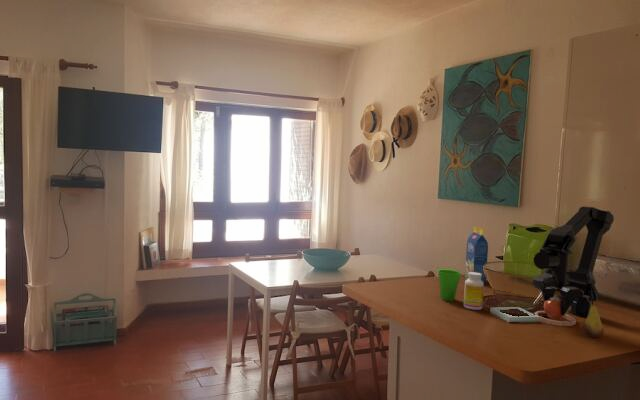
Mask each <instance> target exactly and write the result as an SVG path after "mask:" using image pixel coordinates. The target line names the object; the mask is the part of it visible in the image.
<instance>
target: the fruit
mask: <svg viewBox="0 0 640 400" xmlns="http://www.w3.org/2000/svg"><path fill="white" fill-rule="evenodd" d="M586 299H587V300H588V298H587V297H586ZM588 301H589V300H588ZM589 303H590V301H589ZM590 304H591V303H590ZM582 331H583V332H584V333H585V335H587V336H588V337H590V338H599V337H601V336H602V335H603V333H604V325H603V323H602V320H601V316H600V313H599V310H598V308H597V306H595V305H594V304H593V305H592V304H591V307H590V310H589V314H588V316H587V317H586V318H585V320H584V321H583V322H582Z"/></svg>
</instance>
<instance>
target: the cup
mask: <svg viewBox="0 0 640 400" xmlns="http://www.w3.org/2000/svg"><path fill="white" fill-rule="evenodd" d="M437 272H438V281H439V282H438V283H439V291H440V298H441V300H443V301H445V302H447V301H448V302H453V301H455V300H456V295H457V290H458V286H459V283H460V278H461V274H462V272H461V271H459V270H455V269H449V268H448V269H446V268H440V269H437Z"/></svg>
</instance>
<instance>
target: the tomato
mask: <svg viewBox="0 0 640 400" xmlns="http://www.w3.org/2000/svg"><path fill="white" fill-rule="evenodd" d="M543 302H544V301H543ZM543 309H544V310H543V311H545V312H546V314H547V315H546V316H547V317H548V318H550V319H552V320H561V319H563V318H562V317H563V316H564V315H561V300H560V298H559V297H558V294H554V296H553V297H551V298H550V299H548V300H546V301H545V302H544V303H543ZM565 314H567V312H566V313H565Z"/></svg>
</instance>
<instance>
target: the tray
mask: <svg viewBox="0 0 640 400" xmlns="http://www.w3.org/2000/svg"><path fill="white" fill-rule="evenodd" d="M509 309H518V310H520V311H523V312H524V313H527V314H528V315H529V316H519V317H518V316H512V315H509V314H506V313H502V312H500V310H509ZM489 313H490V314H492V315H493V316H495V317H498V318H499V319H501V320H503V321H505V322H507V323H509V322H519V323H540V321H539V319H540V317H539V316H537V315H534V313H532V312H530V311H528V310H526V309H524V308H522V307H518V306H517V307H514V306H512V307H509V306H508V307H490V310H489Z"/></svg>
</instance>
